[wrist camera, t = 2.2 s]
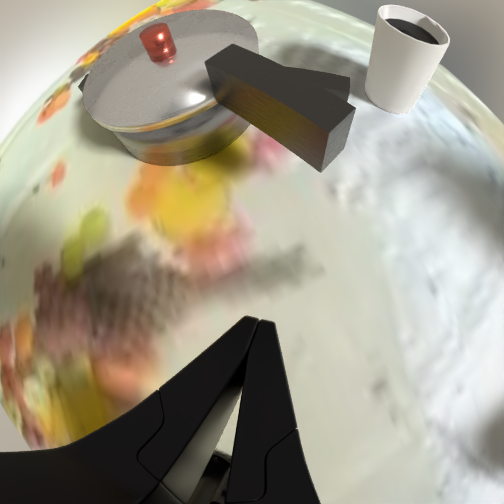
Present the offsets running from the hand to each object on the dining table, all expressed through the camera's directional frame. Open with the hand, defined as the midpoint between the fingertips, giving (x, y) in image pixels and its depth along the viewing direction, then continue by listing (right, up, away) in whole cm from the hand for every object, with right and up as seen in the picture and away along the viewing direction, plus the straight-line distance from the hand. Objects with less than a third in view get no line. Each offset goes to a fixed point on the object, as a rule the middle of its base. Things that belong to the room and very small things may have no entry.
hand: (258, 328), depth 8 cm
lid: (-4, +16, +12) cm, 20 cm away
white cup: (+14, +19, +17) cm, 29 cm away
